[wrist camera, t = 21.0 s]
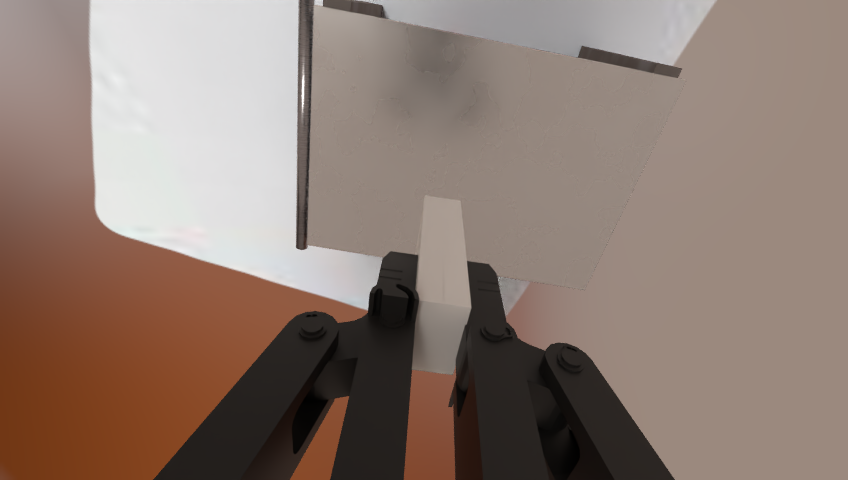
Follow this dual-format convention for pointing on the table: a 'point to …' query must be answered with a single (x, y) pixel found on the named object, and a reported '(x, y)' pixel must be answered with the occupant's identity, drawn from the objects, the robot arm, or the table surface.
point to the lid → (467, 143)
